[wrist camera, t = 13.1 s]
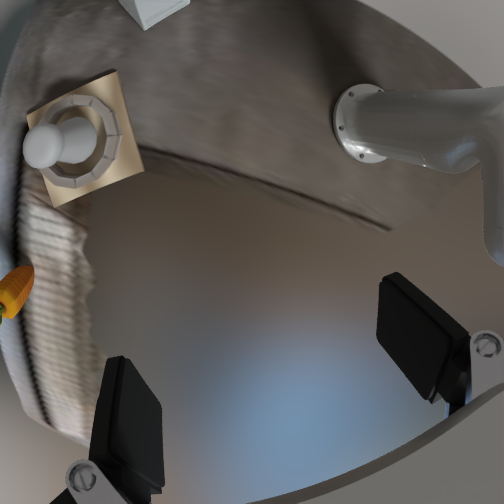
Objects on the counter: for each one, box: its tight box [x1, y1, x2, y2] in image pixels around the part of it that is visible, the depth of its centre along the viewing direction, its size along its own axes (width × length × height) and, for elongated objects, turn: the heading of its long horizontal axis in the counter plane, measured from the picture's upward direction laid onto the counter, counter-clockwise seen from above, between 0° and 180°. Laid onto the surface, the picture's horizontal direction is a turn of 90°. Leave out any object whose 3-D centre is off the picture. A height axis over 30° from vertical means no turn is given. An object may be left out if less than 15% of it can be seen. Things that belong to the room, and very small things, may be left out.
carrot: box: [0, 266, 34, 325], centre depth 29 cm, size 5×5×15 cm
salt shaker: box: [23, 117, 97, 169], centre depth 25 cm, size 6×6×13 cm
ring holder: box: [27, 71, 145, 208], centre depth 30 cm, size 14×14×4 cm
